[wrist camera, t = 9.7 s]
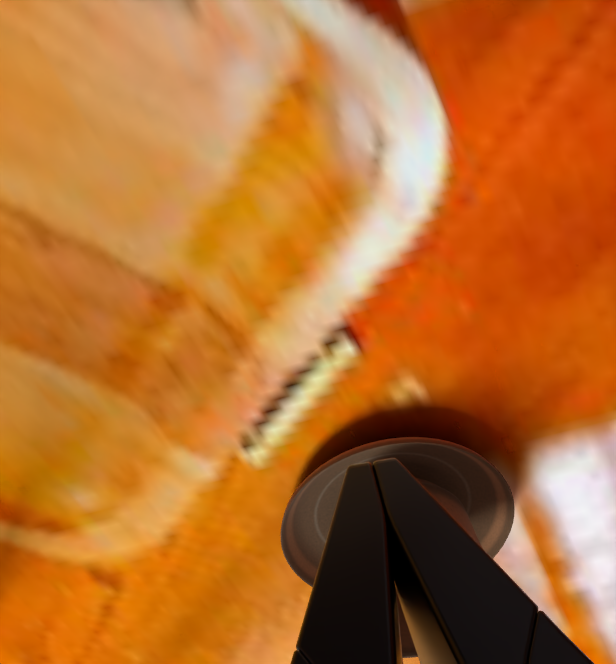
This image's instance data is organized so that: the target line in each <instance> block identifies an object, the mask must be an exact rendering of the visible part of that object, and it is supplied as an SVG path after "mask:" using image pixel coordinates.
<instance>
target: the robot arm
mask: <svg viewBox="0 0 616 664" xmlns="http://www.w3.org/2000/svg"><path fill="white" fill-rule="evenodd" d="M395 586H396V589H395ZM396 590H397V594H398V597H399V601H400V604H401V607H402V610H403V613H404V616H405V619H406V622H407V625H408V628H409V631H410V634H411V637H412V640H413V643H414V646H415V649H416V652H417V655H418V658H419V661H420V664H594V663H593V662H592V661H591V660H590V659H589V658H588V657H587V656H586V655H585V654H584V653H583V652H582V651H581V650H580V649H579V648H578V647H577V646H576V645H575V644H574V643H573V642H572V641H571V640H570V639H569V638H568V637H567V636H566V635H565V634H564V633H563V632H562V631H561V630H560V629H559V628H558V627H557V626H556V625H555V624H554V623H553V621H552V620H551V619H550V618H549V617H548V616H547V615H546V614H545V613H544V612H543V611H538V606H537V605H536V604H535V603H534V602H533V601H532V600H531V599H530V598H529V597H528V596H527V595H526V593H525V592H524V591H523V590H522V589H521V588H520V587H519V586H518V585H517V584H516V583H515V582H514V581H513V580H512V579H511V578H510V577H509V576H508V575H507V574H506V572H505V571H504V570H503V569H502V568H501V567H500V566H499V565H498V564H497V563H496V562H495V561H494V560H493V559H492V558H491V557H490V556H489V555H488V554H487V553H486V552H485V550H484V549H483V548H482V547H481V546H480V545H479V544H478V543H477V542H476V541H475V540H474V539H473V538H472V537H471V536H470V535H469V534H468V533H467V532H466V531H465V529H464V528H463V527H462V526H461V525H460V524H459V523H458V522H457V521H456V520H455V519H454V518H453V517H452V516H451V515H450V514H449V513H448V512H447V511H446V510H445V509H444V507H443V506H442V505H441V504H440V503H439V502H438V501H437V500H436V499H435V498H434V497H433V496H432V495H431V494H430V493H429V492H428V491H427V490H426V489H425V488H424V486H423V485H422V484H421V483H420V482H419V481H418V480H417V479H416V478H415V477H414V476H413V475H412V474H411V473H410V472H409V471H408V470H407V469H406V468H405V467H404V465H403V464H402V463H401V462H400V461H399V460H397V459H396V458H388V459H382V460H376V461H374V462H373V466H372V464H371V463H370V462H365V463H359V464H353V465H350V466H348V468H347V470H346V474H345V477H344V481H343V484H342V487H341V491H340V494H339V498H338V501H337V505H336V508H335V512H334V515H333V519H332V522H331V526H330V529H329V533H328V536H327V540H326V543H325V547H324V550H323V554H322V557H321V561H320V564H319V568H318V571H317V575H316V578H315V582H314V585H313V589H312V592H311V596H310V599H309V603H308V606H307V609H306V613H305V616H304V620H303V623H302V627H301V630H300V634H299V637H298V641H297V644H296V648H297V650H296V651H295V652H294V654H293V657H292V661H291V664H403V658H402V647H401V637H400V626H399V615H398V605H397V597H396Z"/></svg>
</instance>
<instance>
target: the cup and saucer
mask: <svg viewBox="0 0 616 664" xmlns="http://www.w3.org/2000/svg"><path fill="white" fill-rule="evenodd" d="M388 458H396V459H397V460H399V461H400V462H401V463H402V464H403V465H404V467H405V468H406V469H407V470H408V471H409V472H410V473H411V474H412V475H413V476H414V477H415V478H416V479H417V480H418V481H419V482H420V483H421V484H422V485H423V486H424V488H425V489H426V490H427V491H428V492H429V493H430V494H431V495H432V496H433V497H434V498H435V499H436V500H437V501H438V502H439V503H440V504H441V505H442V506H443V507H444V509H445V510H446V511H447V512H448V513H449V514H450V515H451V516H452V517H453V518H454V519H455V520H456V521H457V522H458V523H459V524H460V525H461V526H462V527H463V528H464V529H465V531H466V532H467V533H468V534H469V535H470V536H471V537H472V538H473V539H474V540H475V541H476V542H477V543H478V544H479V545H480V546H481V547H482V548H483V549H484V550H485V552H486V553H487V554H488V555H489V556H490V557H491V558H492V559H493V558H494V557H495V555H496V554H497V553H498V552H499V550H500V549H501V548H502V546H503V545H504V543H505V541H506V539H507V538H508V535H509V533H510V531H511V527H512V524H513V519H514V501H513V496H512V493H511V490H510V488H509V486H508V484H507V482H506V481H505V479H504V478H503V476H502V475H501V474H500V473H499V471H498V470H497V469H496V468H495V467H494V466H493V465H492V464H491V463H490V462H489V461H488V460H486V459H485V458H484V457H482V456H481V455H479V454H478V453H476V452H474V451H473V450H471V449H469V448H466V447H464V446H462V445H459V444H456V443H453V442H450V441H445V440H440V439H434V438H426V437H401V438H391V439H385V440H380V441H375V442H371V443H368V444H364V445H361V446H358V447H355V448H353V449H350V450H348V451H346V452H343V453H341V454H339V455H338V456H336V457H334V458H332V459H330V460H329V461H327V462H326V463H324V464H322V465H321V466H320V467H318V468H317V469H316V470H315V471H313V472H312V473H311V474H310V475H309V476H308V477H307V478H306V479H305V480H304V481H303V482H302V483H301V484H300V485H299V487H298V488H297V489H296V491H295V492H294V494H293V495H292V497H291V499H290V501H289V503H288V505H287V507H286V510H285V513H284V517H283V521H282V526H281V545H282V550H283V553H284V556H285V558H286V560H287V562H288V564H289V565H290V567H291V568H292V570H293V571H294V572H295V573H296V574H297V575H298V576H299V577H300V578H301V579H302V580H303V581H305V582H306V583H307V584H309V585H310V586H312V587H313V585H314V582H315V578H316V575H317V571H318V568H319V564H320V561H321V557H322V554H323V550H324V547H325V543H326V540H327V536H328V533H329V529H330V526H331V522H332V519H333V515H334V512H335V508H336V505H337V501H338V498H339V494H340V491H341V487H342V484H343V481H344V477H345V474H346V470H347V468H348V466H350V465H353V464H359V463H365V462H370V463H371V464H372V466H373V462H374V461H376V460H382V459H388ZM395 589H396V586H395ZM396 597H397V605H398V615H399V626H400V637H401V647H402V658H410V657H418V655H417V652H416V649H415V646H414V643H413V640H412V637H411V634H410V631H409V628H408V625H407V622H406V619H405V616H404V613H403V610H402V607H401V604H400V601H399V597H398V594H397V590H396Z"/></svg>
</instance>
